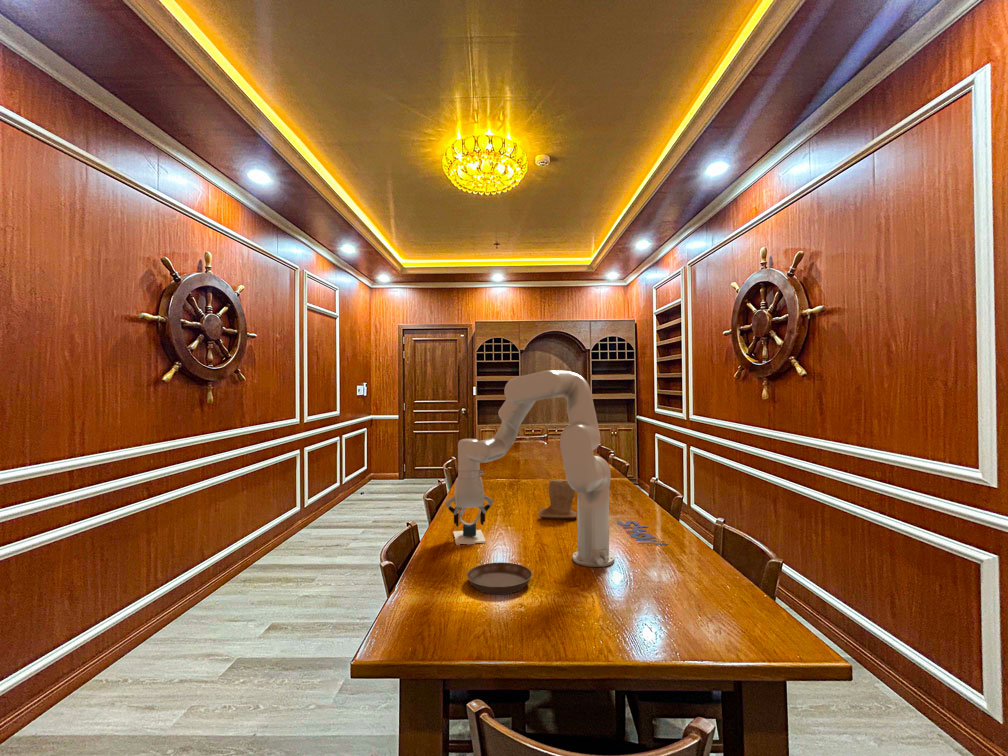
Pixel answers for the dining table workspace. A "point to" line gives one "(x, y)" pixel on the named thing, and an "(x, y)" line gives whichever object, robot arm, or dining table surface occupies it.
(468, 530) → the watch
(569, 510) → the brown boot
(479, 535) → the pad
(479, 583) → the plant saucer
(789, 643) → the dining table surface
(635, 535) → the signage
